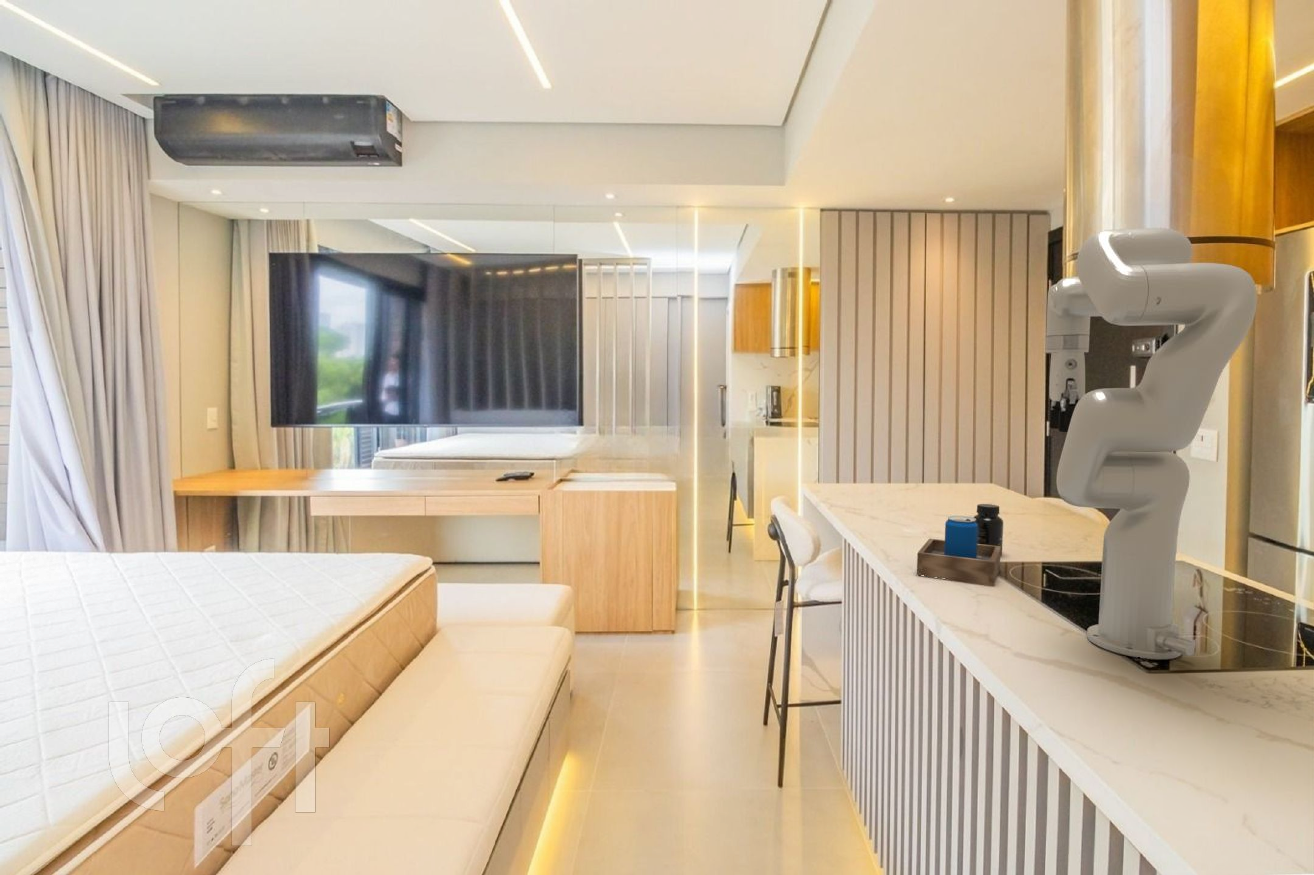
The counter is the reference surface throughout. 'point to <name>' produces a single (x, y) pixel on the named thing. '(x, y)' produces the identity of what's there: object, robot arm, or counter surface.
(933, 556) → the bore box
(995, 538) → the supplement bottle
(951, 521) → the beverage can
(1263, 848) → the counter surface
